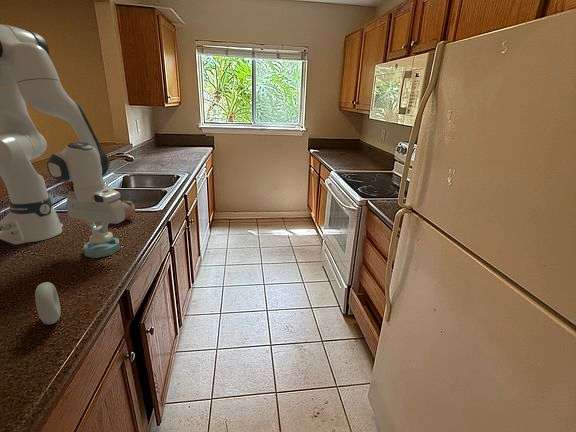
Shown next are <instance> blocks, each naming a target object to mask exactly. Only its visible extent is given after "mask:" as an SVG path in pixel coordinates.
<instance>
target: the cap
mask: <svg viewBox="0 0 576 432" xmlns="http://www.w3.org/2000/svg"><path fill="white" fill-rule="evenodd" d="M102 225H103V224H101V225H97V226H98V227H96V228H94V229H92V231H91V232H92V235H90V236H89V237H88V238H89V242H90V243H92V244H102V243H106V242H109V241H111V240H112V239H113V238H114V236H113V235H114V234H113V232H111V231H108V232H107V233H101V232H100V228H102Z"/></svg>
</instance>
